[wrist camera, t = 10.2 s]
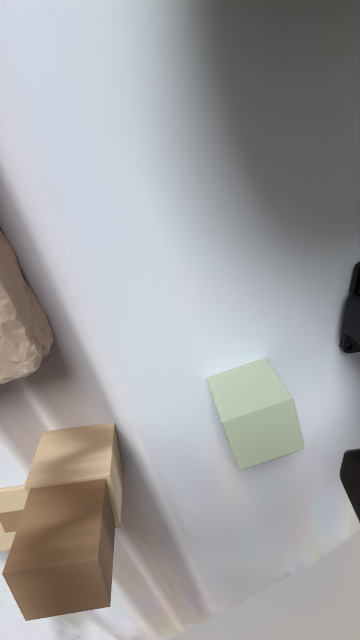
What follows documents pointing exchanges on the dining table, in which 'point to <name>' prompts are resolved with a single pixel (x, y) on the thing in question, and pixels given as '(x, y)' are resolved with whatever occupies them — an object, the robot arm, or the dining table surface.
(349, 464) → the robot arm
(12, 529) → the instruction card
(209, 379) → the block
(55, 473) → the oak block
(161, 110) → the dining table surface
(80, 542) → the walnut block
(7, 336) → the brown rock
